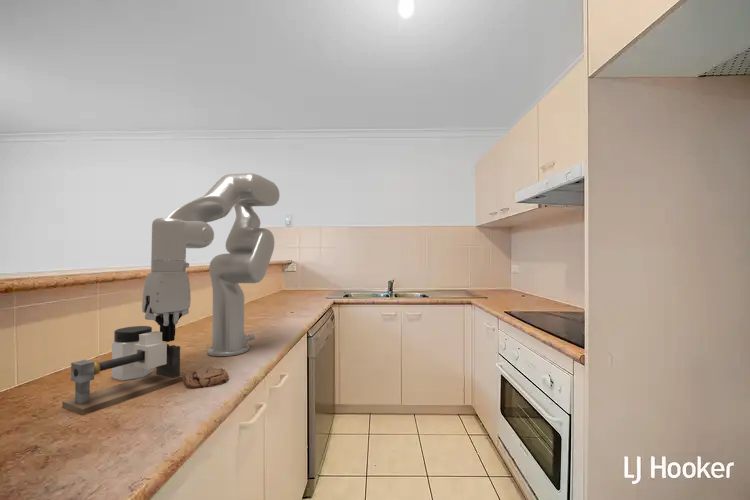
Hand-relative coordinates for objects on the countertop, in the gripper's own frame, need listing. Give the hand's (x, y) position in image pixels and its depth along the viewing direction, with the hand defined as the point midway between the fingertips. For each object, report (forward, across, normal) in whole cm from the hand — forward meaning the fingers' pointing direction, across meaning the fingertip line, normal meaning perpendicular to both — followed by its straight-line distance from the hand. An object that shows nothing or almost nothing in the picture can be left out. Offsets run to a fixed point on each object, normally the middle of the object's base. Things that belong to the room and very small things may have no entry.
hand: (167, 340), depth 89 cm
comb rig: (+10, +9, 0) cm, 13 cm away
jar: (+10, +1, -12) cm, 16 cm away
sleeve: (+5, +4, 0) cm, 6 cm away
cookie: (+10, -4, +9) cm, 15 cm away
